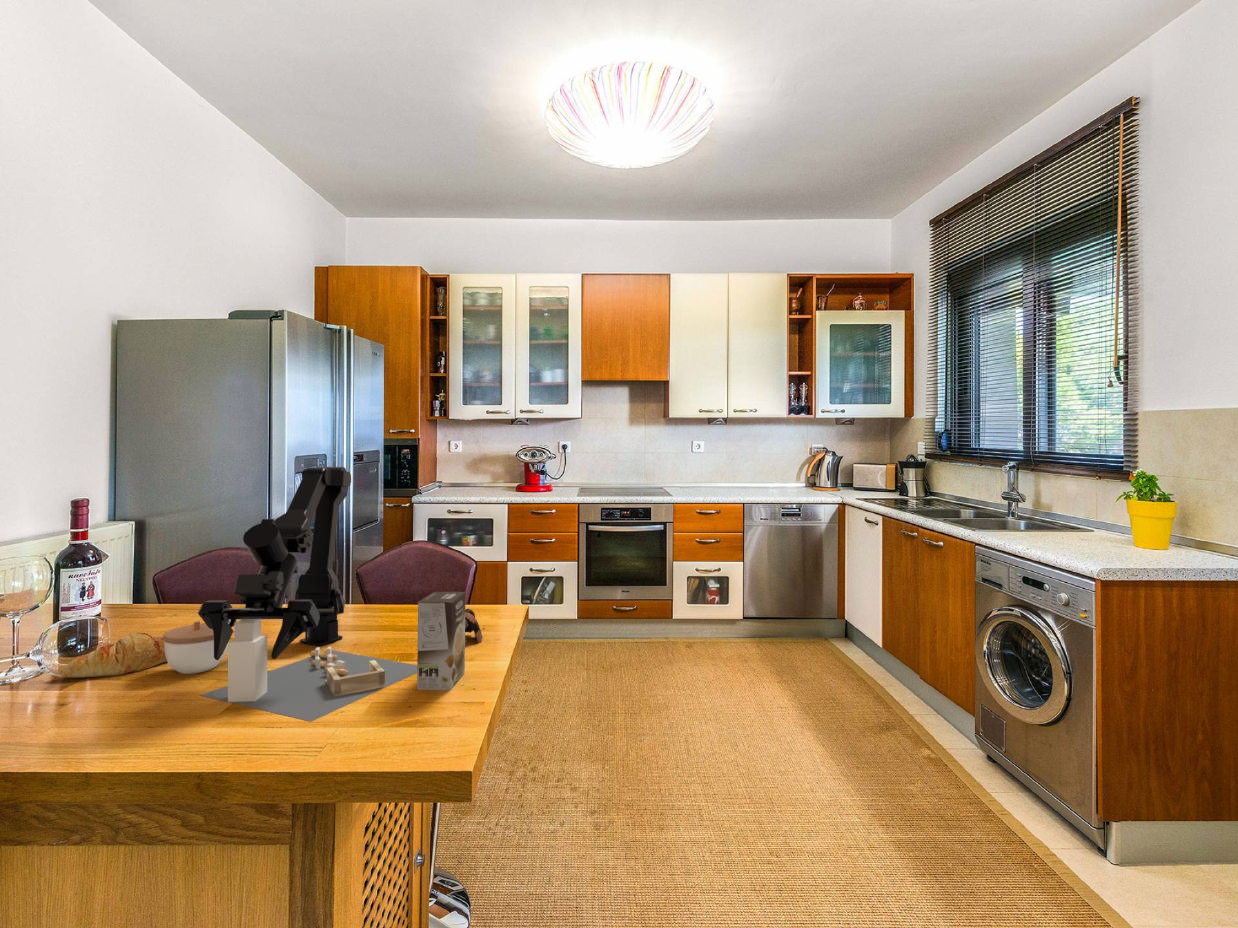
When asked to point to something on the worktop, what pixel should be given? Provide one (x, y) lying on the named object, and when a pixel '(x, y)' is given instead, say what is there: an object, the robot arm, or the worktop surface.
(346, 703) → the slate mat
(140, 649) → the bread loaf
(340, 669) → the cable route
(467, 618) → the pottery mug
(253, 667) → the white square bottle
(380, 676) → the end holder
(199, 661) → the lidded jar
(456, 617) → the coffee box
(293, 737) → the worktop surface
